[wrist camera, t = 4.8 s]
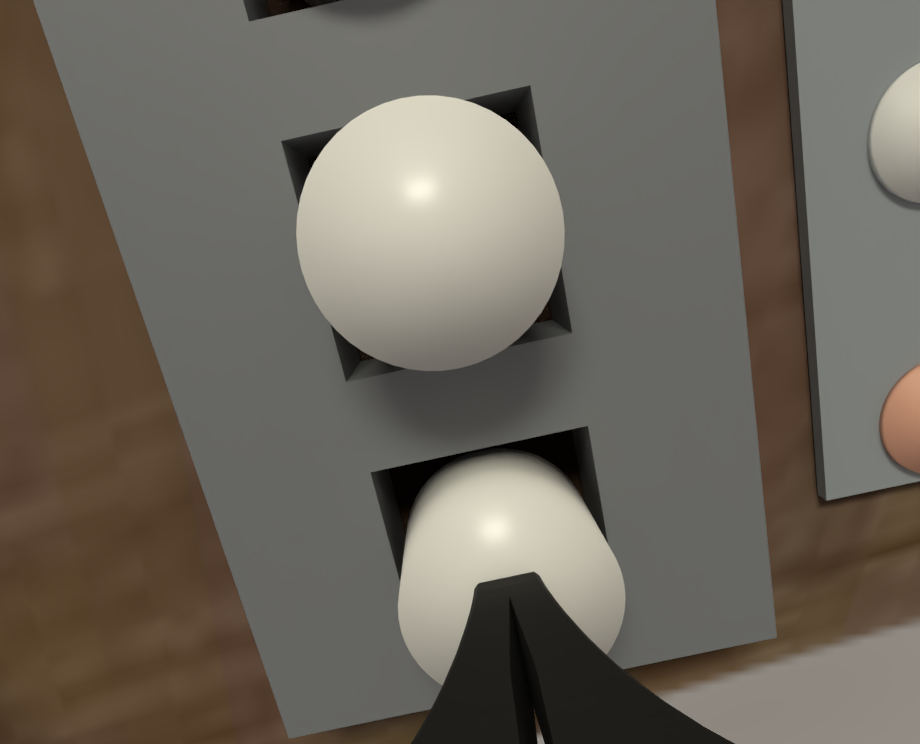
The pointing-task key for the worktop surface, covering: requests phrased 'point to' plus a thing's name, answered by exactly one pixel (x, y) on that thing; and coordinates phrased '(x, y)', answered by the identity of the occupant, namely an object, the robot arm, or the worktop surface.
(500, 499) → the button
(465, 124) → the button middle
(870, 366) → the pattern card
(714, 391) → the button board
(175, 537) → the worktop surface
